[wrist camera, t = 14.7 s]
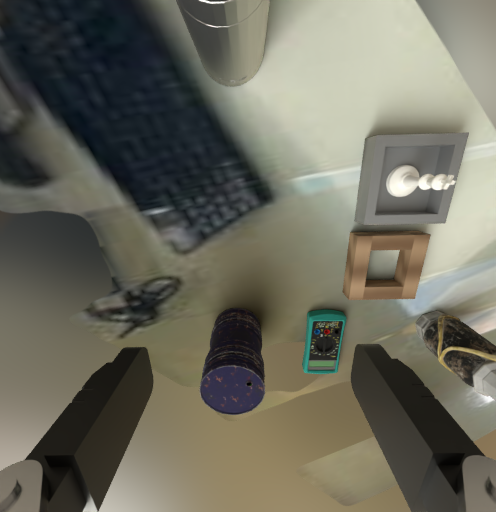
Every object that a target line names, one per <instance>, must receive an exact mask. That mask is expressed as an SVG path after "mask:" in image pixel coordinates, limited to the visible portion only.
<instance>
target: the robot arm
mask: <svg viewBox="0 0 496 512" xmlns="http://www.w3.org/2000/svg"><path fill="white" fill-rule="evenodd" d="M176 1H177V4H178V6H179V9H180V11H181V13H182V16H183V18H184V21H185V23H186V25H187V28H188V30H189V33H190V35H191V37H192V40H193V42H194V45H195V47H196V50H197V52H198V54H199V57H200V59H201V61H202V64H203V66H204V68H205V70H206V71H207V73H208V74H209V75H210V76H211V77H212V78H213V79H214V80H215V81H217V82H218V83H220V84H222V85H225V86H239V85H242V84H244V83H246V82H247V81H249V80H250V79H251V78H252V77H253V76H254V75H255V74H256V72H257V71H258V69H259V67H260V65H261V62H262V59H263V54H264V46H265V39H266V31H267V22H268V13H269V5H270V0H176ZM351 383H352V388H353V391H354V394H355V396H356V398H357V400H358V402H359V404H360V406H361V408H362V410H363V412H364V414H365V417H366V419H367V421H368V423H369V425H370V427H371V429H372V431H373V433H374V435H375V437H376V439H377V441H378V443H379V445H380V448H381V450H382V452H383V454H384V456H385V458H386V460H387V462H388V464H389V466H390V468H391V470H392V472H393V474H394V476H395V479H396V481H397V483H398V485H399V487H400V489H401V491H402V493H403V495H404V497H405V499H406V501H407V503H408V505H409V507H410V509H411V512H496V460H494V459H491V458H488V457H486V456H485V455H484V454H483V453H482V452H481V451H480V450H479V448H478V447H477V446H476V445H475V444H474V443H473V441H472V440H471V439H470V438H469V437H468V435H467V434H466V433H465V432H464V431H463V429H462V428H461V427H460V426H459V425H458V424H457V422H456V421H455V420H454V419H453V418H452V416H451V415H450V414H449V413H448V412H447V411H446V409H445V408H444V407H443V406H442V405H441V403H440V402H439V401H438V400H437V399H435V398H434V395H433V394H432V393H431V392H430V390H429V389H428V388H427V387H425V386H424V383H423V382H422V381H421V380H420V378H419V377H418V376H417V375H416V374H415V373H414V371H413V370H412V369H410V368H409V367H408V366H406V365H405V364H403V363H402V362H401V361H399V360H398V359H391V357H390V356H389V355H388V354H387V352H386V351H385V350H384V348H383V347H382V346H381V345H379V344H358V345H356V347H355V353H354V359H353V365H352V372H351ZM152 388H153V374H152V369H151V364H150V360H149V355H148V351H147V349H146V348H145V347H127V348H123V349H122V350H121V351H120V353H119V354H118V356H117V357H116V358H115V359H114V361H113V362H112V363H106V364H105V365H104V366H102V367H101V368H100V369H99V370H98V371H96V372H95V373H94V374H93V375H92V376H91V377H90V378H89V380H88V381H87V382H86V383H85V385H84V386H83V387H82V390H81V391H79V392H78V393H77V395H76V396H75V397H74V399H73V400H72V403H70V404H69V405H68V406H67V407H66V409H65V410H64V411H63V413H62V414H61V415H60V416H59V417H58V419H57V420H56V421H55V423H54V424H53V425H52V426H51V428H50V429H49V430H48V431H47V433H46V434H45V435H44V436H43V438H42V439H41V440H40V441H39V443H38V444H37V445H36V446H35V448H34V449H33V450H32V452H31V453H30V454H29V455H28V456H27V458H26V459H25V460H24V461H20V462H17V463H15V464H12V465H11V466H8V467H6V468H5V469H3V470H1V471H0V512H98V511H99V509H100V507H101V504H102V502H103V500H104V498H105V495H106V493H107V491H108V489H109V487H110V484H111V482H112V480H113V478H114V476H115V473H116V471H117V469H118V467H119V464H120V462H121V460H122V458H123V456H124V453H125V451H126V449H127V447H128V445H129V442H130V440H131V438H132V436H133V433H134V431H135V429H136V427H137V425H138V422H139V420H140V418H141V416H142V413H143V411H144V409H145V407H146V405H147V402H148V400H149V398H150V396H151V393H152Z"/></svg>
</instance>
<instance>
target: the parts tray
mask: <svg viewBox="0 0 496 512" xmlns="http://www.w3.org/2000/svg"><path fill="white" fill-rule="evenodd" d="M468 135H469V133H436V134H399V135H376V136H373V137H370V138H366V139H365V144H364V152H363V160H362V167H361V175H360V183H359V190H358V198H357V206H356V213H355V221H356V222H358V223H360V224H363V225H389V224H435V223H445V222H446V218H447V215H448V211H449V207H450V203H451V199H452V196H453V192H454V188H455V184H456V182H455V184H454V185H449V187H448V188H447V190H445V189H441V190H434V189H433V188H429V189H427V190H423V189H421V188H420V187H419V186H417V187H416V189H415V190H414V191H413V192H412V193H410V194H409V195H407V196H403V197H395V196H393V195H391V194H390V193H389V192H388V190H387V187H386V181H387V178H388V176H389V174H390V173H391V171H392V170H394V169H395V168H396V167H398V166H401V165H409V166H413V167H414V168H416V169H417V171H418V173H419V177H420V178H421V177H422V176H423V175H425V174H432V175H433V176H436V175H439V174H445V175H446V176H448V175H453V176H454V178H453V179H452V180H454V181H456V180H457V177H458V173H459V169H460V165H461V161H462V157H463V154H464V150H465V146H466V142H467V138H468Z"/></svg>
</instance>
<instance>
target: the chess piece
mask: <svg viewBox="0 0 496 512" xmlns="http://www.w3.org/2000/svg"><path fill="white" fill-rule="evenodd" d="M453 178H454V176H453V175H448V176H446V175H445V174H439V175H436V176H433V175H432V174H425V175H423V176H422V177H421V178H420V177H419V173H418V171H417V169H416V168H414V167H413V166H409V165H401V166H398V167H396V168H395V169H394V170H392V171H391V173H390V174H389V176H388V178H387V181H386V187H387V190H388V192H389V193H390V194H391V195H393V196H395V197H403V196H407V195H409V194H410V193H412V192H413V191H414V190H415V189H416V187H417V186H419V187H420V188H421V189H423V190H427V189H429V188H433V189H434V190H441V189H445V190H447V188H448V187H449V185H454V184H455V182H456V181H454V180H452V179H453Z"/></svg>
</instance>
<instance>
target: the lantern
mask: <svg viewBox="0 0 496 512" xmlns="http://www.w3.org/2000/svg"><path fill="white" fill-rule="evenodd" d="M415 325H416V331H417V335H418V336H419V337H420V338H421V339H423V340H424V342H425V345H426V347H427V348H428V349H429V350H430V351H431V352H432V353H433V354H434V355H435V356H436V357H438V359H439V361H440V363H441V364H443V365H444V366H445V367H446V368H447V369H448V370H450V371H451V372H453V373H454V374H456V375H457V376H458V377H459V378H461V379H462V380H463V381H464V382H465V383H466V384H468V385H470V386H472V387H474V391H475V392H477V393H480V394H482V395H485V396H491V397H492V398H493V399H494V400H496V346H495V345H493V344H492V343H491V342H489V341H488V340H486V339H485V338H484V337H482V336H481V335H480V334H478V333H477V332H475V331H474V330H473V329H471V328H470V327H469V326H467V325H466V324H464V323H463V322H461V321H460V319H458V318H456V317H453V316H450V315H446V314H444V313H442V312H439V311H434V312H431V313H427V314H424V315H422V316H421V317H420V318H419V320H418V321H417V322H416V323H415Z"/></svg>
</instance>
